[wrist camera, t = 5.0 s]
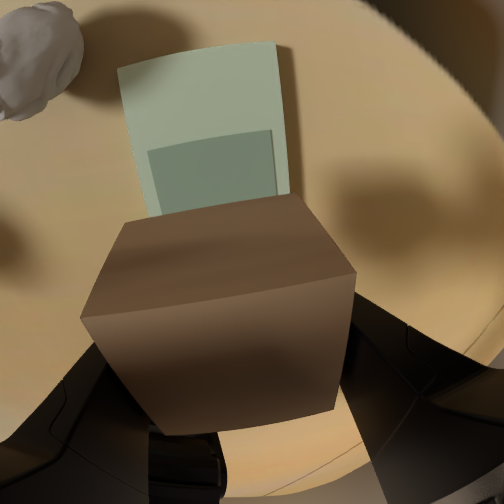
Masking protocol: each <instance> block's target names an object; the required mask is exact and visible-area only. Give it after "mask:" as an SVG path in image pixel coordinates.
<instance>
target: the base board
mask: <svg viewBox="0 0 504 504" xmlns="http://www.w3.org/2000/svg"><path fill="white" fill-rule="evenodd" d="M117 74H118V80H119V86H120V92H121V98H122V103H123V109H124V114H125V119H126V124H127V129H128V134H129V138H130V143H131V147H132V152H133V156H134V160H135V165H136V169H137V173H138V177H139V181H140V185H141V189H142V192H143V196H144V200H145V204H146V207H147V211H148V214H149V218H150V217H155V216H160V215H165V214H171V213H176V212H181V211H186V210H192V209H197V208H203V207H208V206H214V205H220V204H226V203H232V202H238V201H244V200H250V199H256V198H263V197H270V196H276V195H283V194H290V185H289V172H288V159H287V147H286V136H285V125H284V114H283V104H282V95H281V85H280V77H279V68H278V59H277V51H276V43H275V41H264V42H250V43H239V44H230V45H222V46H215V47H208V48H202V49H196V50H190V51H185V52H180V53H175V54H170V55H166V56H161V57H157V58H153V59H149V60H145V61H141V62H138V63H134V64H131V65H127V66H124V67H120V68H117Z"/></svg>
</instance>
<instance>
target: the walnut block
mask: <svg viewBox="0 0 504 504" xmlns="http://www.w3.org/2000/svg"><path fill="white" fill-rule="evenodd" d="M356 274H357V272H356V271H355V270H354V268H353V267H352V265H351V264H350V263H349V261H348V260H347V258H346V257H345V256H344V254H343V253H342V252H341V250H340V249H339V247H338V246H337V245H336V243H335V242H334V241H333V239H332V238H331V237H330V235H329V234H328V233H327V231H326V230H325V229H324V227H323V226H322V225H321V223H320V222H319V221H318V219H317V218H316V217H315V216H314V214H313V213H312V212H311V210H310V209H309V208H308V207H307V205H306V204H305V203H304V201H303V200H302V199H301V198H300V196H299V195H298V194H297V193H290V194H283V195H276V196H270V197H263V198H256V199H250V200H244V201H238V202H232V203H226V204H220V205H214V206H208V207H203V208H197V209H192V210H186V211H181V212H176V213H171V214H165V215H160V216H155V217H150V218H146V219H141V220H136V221H131V222H127V223H125V224H124V226H123V228H122V229H121V231H120V233H119V235H118V237H117V239H116V241H115V243H114V245H113V247H112V249H111V251H110V253H109V255H108V257H107V259H106V261H105V263H104V265H103V267H102V269H101V271H100V273H99V275H98V278H97V280H96V282H95V284H94V286H93V289H92V291H91V293H90V295H89V298H88V300H87V302H86V305H85V307H84V309H83V312H82V314H81V316H80V319H81V321H82V322H83V324H84V326H85V328H86V329H87V331H88V332H89V334H90V336H91V337H92V339H93V340H94V342H95V344H96V345H97V347H98V348H99V350H100V351H101V353H102V354H103V356H104V357H105V359H106V360H107V362H108V363H109V365H110V366H111V368H112V369H113V370H114V372H115V373H116V375H117V376H118V377H119V379H120V380H121V382H122V383H123V384H124V386H125V387H126V388H127V390H128V391H129V392H130V394H131V395H132V396H133V397H134V399H135V400H136V401H137V402H138V404H139V405H140V406H141V407H142V409H143V410H144V411H145V412H146V414H147V415H148V416H149V417H150V418H151V420H152V421H153V422H154V423H155V424H156V425H157V427H158V428H159V429H160V430H161V431H162V432H163V433H164V434H165V436H170V435H188V434H201V433H212V432H221V431H229V430H237V429H244V428H250V427H257V426H262V425H268V424H274V423H279V422H284V421H289V420H293V419H298V418H302V417H306V416H311V415H315V414H319V413H322V412H326V411H330V410H334V406H335V402H336V397H337V393H338V388H339V383H340V378H341V373H342V368H343V363H344V358H345V352H346V346H347V340H348V334H349V328H350V321H351V314H352V307H353V300H354V292H355V283H356Z"/></svg>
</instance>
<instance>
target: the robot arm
mask: <svg viewBox="0 0 504 504" xmlns="http://www.w3.org/2000/svg"><path fill="white" fill-rule="evenodd" d="M407 326H408V327H407ZM339 385H340V387H341V389H342V392H343V394H344V396H345V399H346V401H347V403H348V406H349V408H350V411H351V413H352V415H353V418H354V420H355V423H356V425H357V427H358V430H359V432H360V435H361V437H362V440H363V442H364V444H365V447H366V449H367V452H368V454H369V457H370V459H371V461H372V465H373V467H374V470H375V472H376V475H377V477H378V480H379V482H380V485H381V488H382V490H383V493H384V495H385V498H386V500H387V503H388V504H504V369H496V368H491V367H487V366H485V365H482V364H480V363H478V362H476V361H474V360H472V359H470V358H468V357H466V356H464V355H462V354H460V353H458V352H456V351H454V350H452V349H450V348H448V347H446V346H444V345H442V344H441V343H439V342H437V341H435V340H433V339H431V338H430V337H428V336H426V335H425V334H423V333H421V332H420V331H418V330H416V329H415V328H413V327H411V326H410V325H407V323H405V322H403V321H402V320H400V319H398V318H397V317H395V316H394V315H392V314H390V313H389V312H387V311H386V310H384V309H382V308H381V307H379V306H377V305H376V304H374V303H373V302H371V301H369V300H368V299H366V298H364V297H363V296H361V295H359V294H358V293H356V292H354V300H353V307H352V314H351V321H350V328H349V334H348V340H347V346H346V352H345V358H344V363H343V368H342V373H341V378H340V383H339ZM226 488H227V468H226V463H225V460H224V456H223V452H222V448H221V445H220V441H219V437H218V433H217V432H212V433H201V434H188V435H170V436H165V434H164V433H163V432H162V431H161V430H160V429H159V428H158V427H157V425H156V424H155V423H154V422H153V421H152V420H151V418H150V417H149V416H148V415H147V414H146V412H145V411H144V410H143V409H142V407H141V406H140V405H139V404H138V402H137V401H136V400H135V399H134V397H133V396H132V395H131V394H130V392H129V391H128V390H127V388H126V387H125V386H124V384H123V383H122V382H121V380H120V379H119V377H118V376H117V375H116V373H115V372H114V370H113V369H112V368H111V366H110V365H109V363H108V362H107V360H106V359H105V357H104V356H103V354H102V353H101V351H100V350H99V348H98V347H97V345H96V344H95V342H94V343H93V344H92V345H91V346H90V347H89V348H88V349H87V351H86V352H85V353H84V354H83V355H82V356H81V357H80V359H79V360H78V361H77V362H76V363H75V364H74V366H73V367H72V368H71V369H70V370H69V371H68V373H67V374H66V375H65V376H64V377H63V380H61V381H60V382H59V383H58V385H57V386H56V387H55V388H54V389H53V391H52V392H51V393H50V394H49V395H48V396H47V398H46V399H45V400H44V401H43V402H42V403H41V404H40V405H39V406H38V407H37V409H36V410H35V411H34V412H33V413H32V414H31V415H30V416H29V417H28V418H27V419H26V420H25V421H24V422H23V423H22V424H21V425H20V427H19V428H18V429H17V430H16V431H15V432H14V433H13V434H12V435H11V436H10V437H9V438H8V439H6V440H5V441H3V442H1V443H0V504H219V500H220V499H222V498H223V497H224V495H225V492H226Z"/></svg>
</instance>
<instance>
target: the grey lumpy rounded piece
mask: <svg viewBox="0 0 504 504" xmlns="http://www.w3.org/2000/svg"><path fill="white" fill-rule="evenodd" d="M83 54H84V41H83V36H82V33H81V31H80V29H79V24H78V22H77V21H76V20H75V19H74V17H73V11H72V9H70V8H67V7H66V6H65V5H64V4H62V3H61V2H56V1H52V2H47V3H37V4H35V5H33V6H32V7H22V8H18V9H16V10H13V11H11V12H9V13H7V14H6V15H4V16H3V17H2V18H1V19H0V121H3V120H4V119H10V120H13V121H22V120H25V119H28V118H30V117H32V116H34V115H35V114H37V113H39V112H41V111H43V110H44V109H45V107H46V106H47V102H48V101H49V100H52V99H53V98H55V97H56V96H58V95H59V94H61V93H62V92H63V90H64V89H65V88H66V87H67V86H68V85H69V84H70V83H71V81H72V80H73V79H74V78H75V77H76V76H77V74H78V73H79V70H80V65H81V63H82V59H83Z"/></svg>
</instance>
